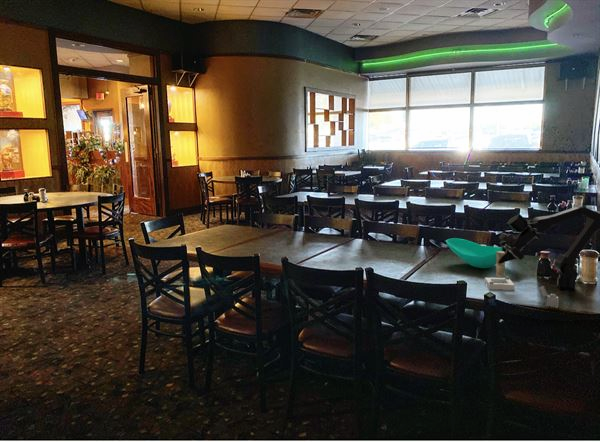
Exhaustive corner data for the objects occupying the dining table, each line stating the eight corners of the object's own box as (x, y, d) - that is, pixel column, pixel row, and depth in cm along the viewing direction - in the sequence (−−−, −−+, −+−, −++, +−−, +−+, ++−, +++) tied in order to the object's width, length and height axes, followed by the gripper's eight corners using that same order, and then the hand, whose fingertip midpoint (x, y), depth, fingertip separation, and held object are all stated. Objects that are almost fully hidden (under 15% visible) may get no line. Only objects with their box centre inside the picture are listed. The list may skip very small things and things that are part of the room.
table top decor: (436, 266, 260) (436, 243, 258) (456, 256, 281) (457, 235, 278) (511, 278, 234) (512, 253, 232) (526, 266, 255) (528, 242, 253)
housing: (508, 283, 227) (508, 276, 227) (514, 290, 217) (514, 283, 216) (484, 282, 229) (485, 275, 229) (489, 289, 219) (489, 282, 218)
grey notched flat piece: (558, 306, 194) (559, 288, 193) (557, 308, 193) (558, 289, 191) (539, 303, 199) (540, 285, 197) (538, 304, 198) (539, 286, 196)
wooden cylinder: (502, 274, 221) (503, 251, 219) (504, 276, 218) (505, 252, 216) (495, 274, 222) (496, 251, 220) (497, 276, 219) (498, 252, 217)
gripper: (504, 223, 225) (480, 246, 228) (517, 230, 207) (491, 255, 210) (521, 239, 225) (496, 261, 228) (535, 248, 207) (508, 272, 210)
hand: (497, 262), depth 219 cm, fingers closed on wooden cylinder, 3 cm apart
